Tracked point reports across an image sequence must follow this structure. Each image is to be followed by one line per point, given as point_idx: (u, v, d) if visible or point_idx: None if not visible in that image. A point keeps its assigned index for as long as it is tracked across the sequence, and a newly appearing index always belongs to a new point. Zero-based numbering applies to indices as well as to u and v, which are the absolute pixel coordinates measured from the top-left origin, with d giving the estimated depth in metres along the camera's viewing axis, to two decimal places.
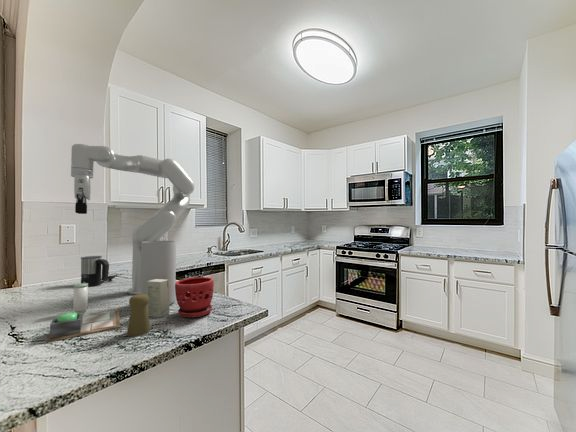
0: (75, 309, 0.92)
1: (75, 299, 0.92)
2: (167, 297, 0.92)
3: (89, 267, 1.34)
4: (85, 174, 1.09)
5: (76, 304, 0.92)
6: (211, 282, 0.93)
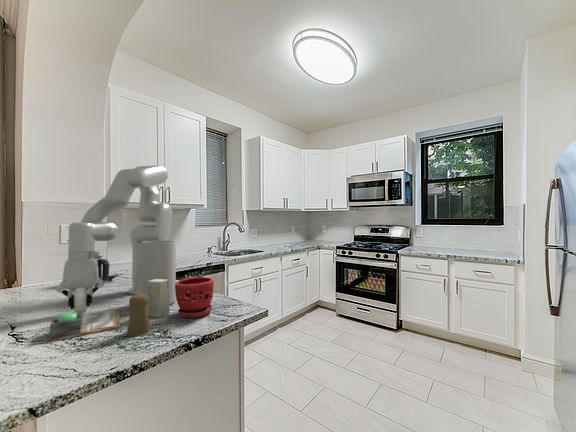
0: (75, 309, 0.92)
1: (75, 299, 0.92)
2: (167, 297, 0.92)
3: None
4: None
5: (76, 304, 0.92)
6: (211, 282, 0.93)
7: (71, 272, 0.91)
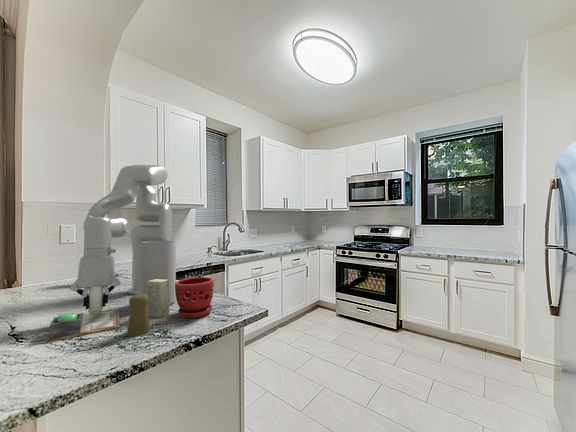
0: (90, 309, 0.86)
1: (90, 299, 0.86)
2: (167, 297, 0.92)
3: None
4: None
5: (92, 304, 0.86)
6: (211, 282, 0.93)
7: (87, 270, 0.85)
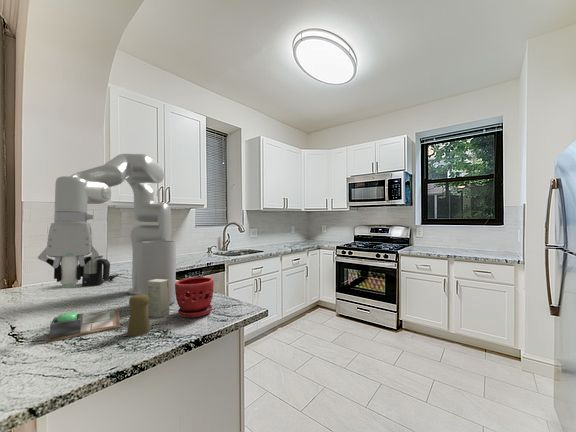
0: (63, 282, 0.75)
1: (63, 270, 0.75)
2: (167, 297, 0.92)
3: (90, 266, 1.35)
4: None
5: (64, 276, 0.75)
6: (211, 282, 0.93)
7: (58, 236, 0.74)
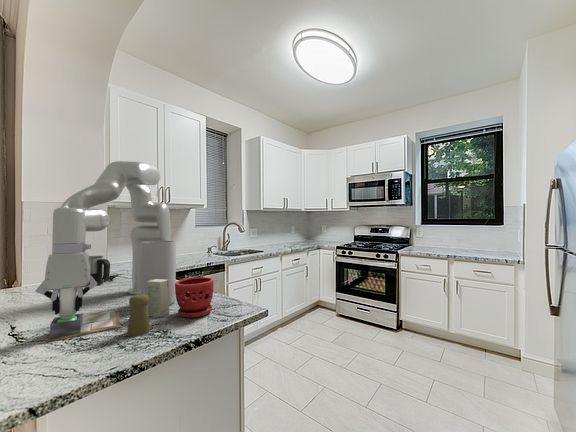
0: (61, 314, 0.75)
1: (61, 302, 0.75)
2: (167, 297, 0.92)
3: (91, 266, 1.35)
4: None
5: (62, 308, 0.75)
6: (211, 282, 0.93)
7: (55, 269, 0.73)
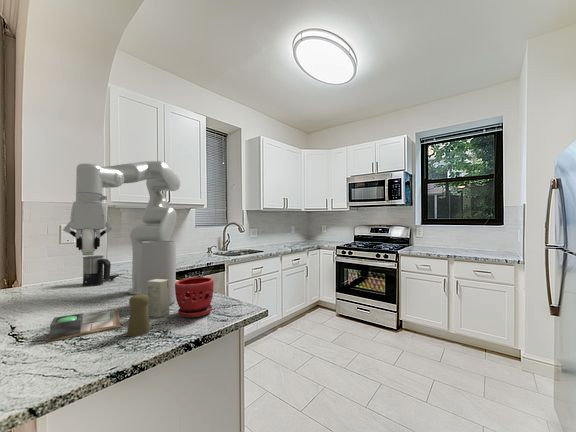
0: (83, 250, 0.92)
1: (83, 240, 0.91)
2: (167, 297, 0.92)
3: (91, 266, 1.35)
4: None
5: (84, 245, 0.91)
6: (211, 282, 0.93)
7: (79, 212, 0.90)
